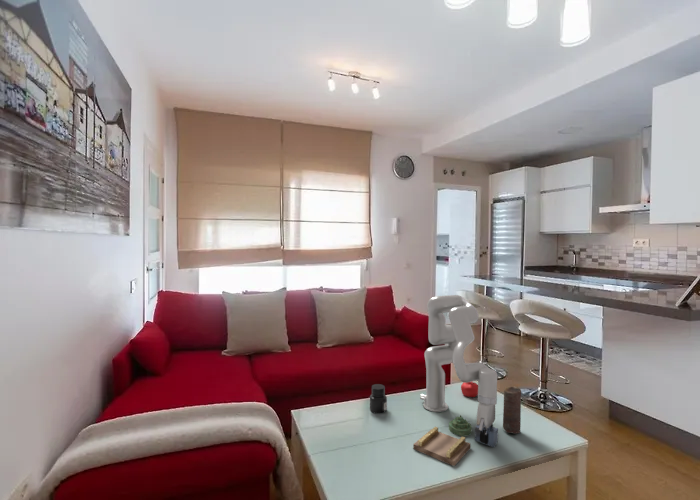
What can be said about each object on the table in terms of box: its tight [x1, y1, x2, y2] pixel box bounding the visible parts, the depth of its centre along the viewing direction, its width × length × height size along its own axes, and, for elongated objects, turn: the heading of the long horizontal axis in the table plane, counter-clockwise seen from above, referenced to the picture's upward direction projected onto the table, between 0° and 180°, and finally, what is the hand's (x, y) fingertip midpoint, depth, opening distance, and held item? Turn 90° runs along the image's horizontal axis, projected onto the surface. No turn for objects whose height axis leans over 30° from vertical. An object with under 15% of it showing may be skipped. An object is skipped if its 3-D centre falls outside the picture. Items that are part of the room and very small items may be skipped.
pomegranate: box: [460, 381, 478, 398], centre depth 205 cm, size 10×10×9 cm
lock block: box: [474, 424, 499, 448], centre depth 156 cm, size 8×5×6 cm, turn 50°
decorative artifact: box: [448, 415, 473, 437], centre depth 167 cm, size 10×7×10 cm
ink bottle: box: [369, 383, 388, 414], centre depth 187 cm, size 10×9×12 cm
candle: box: [502, 386, 522, 435], centre depth 165 cm, size 8×7×20 cm
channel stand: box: [412, 426, 472, 467], centre depth 152 cm, size 18×16×4 cm
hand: (486, 439), depth 156 cm, fingers closed on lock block, 5 cm apart
